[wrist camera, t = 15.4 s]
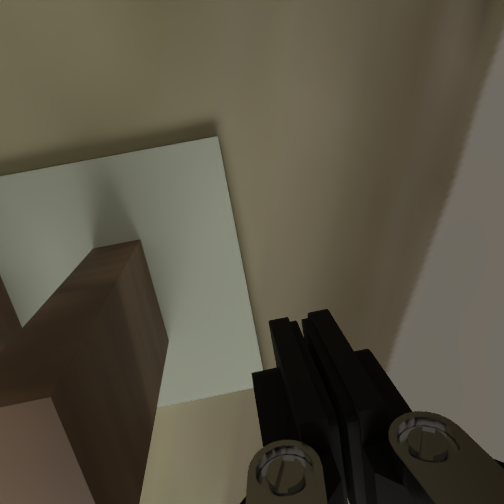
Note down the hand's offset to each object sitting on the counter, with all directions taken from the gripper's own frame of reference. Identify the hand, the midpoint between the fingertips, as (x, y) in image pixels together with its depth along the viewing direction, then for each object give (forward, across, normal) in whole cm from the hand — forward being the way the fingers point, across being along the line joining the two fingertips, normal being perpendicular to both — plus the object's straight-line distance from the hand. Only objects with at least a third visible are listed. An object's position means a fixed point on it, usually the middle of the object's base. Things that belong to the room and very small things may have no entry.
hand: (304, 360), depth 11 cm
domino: (+7, +6, 0) cm, 9 cm away
